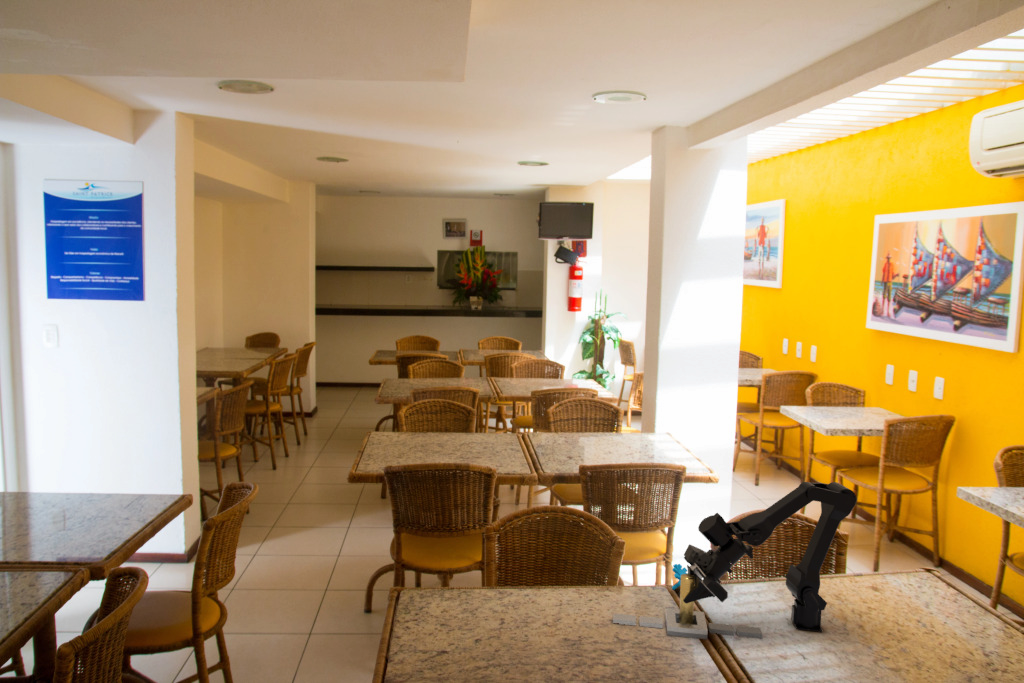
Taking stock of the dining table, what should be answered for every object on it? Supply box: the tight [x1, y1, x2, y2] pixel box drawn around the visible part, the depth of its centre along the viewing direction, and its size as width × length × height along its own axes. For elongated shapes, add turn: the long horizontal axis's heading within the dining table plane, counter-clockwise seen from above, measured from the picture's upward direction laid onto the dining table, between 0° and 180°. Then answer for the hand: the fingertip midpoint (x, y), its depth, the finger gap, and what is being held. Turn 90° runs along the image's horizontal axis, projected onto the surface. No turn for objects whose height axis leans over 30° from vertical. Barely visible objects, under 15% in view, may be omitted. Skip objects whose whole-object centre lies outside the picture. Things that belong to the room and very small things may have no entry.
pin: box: [678, 574, 695, 625], centre depth 184 cm, size 4×4×12 cm
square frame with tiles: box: [612, 608, 763, 640], centre depth 184 cm, size 38×10×2 cm, turn 80°
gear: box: [671, 563, 688, 591], centre depth 206 cm, size 11×6×10 cm
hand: (682, 598), depth 184 cm, fingers closed on pin, 3 cm apart
